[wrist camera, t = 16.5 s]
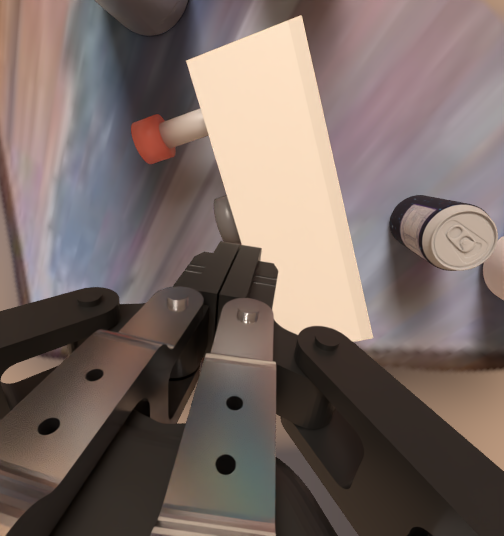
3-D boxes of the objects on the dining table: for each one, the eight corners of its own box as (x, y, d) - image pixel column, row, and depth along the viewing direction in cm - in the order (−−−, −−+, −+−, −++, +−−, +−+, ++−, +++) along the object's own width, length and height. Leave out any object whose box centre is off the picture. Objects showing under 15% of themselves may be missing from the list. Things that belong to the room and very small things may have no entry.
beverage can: (410, 254, 39) (458, 288, 27) (377, 221, 38) (410, 242, 27) (451, 219, 37) (519, 240, 26) (416, 183, 37) (471, 189, 25)
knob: (235, 241, 36) (225, 251, 32) (221, 196, 35) (209, 200, 31) (315, 219, 35) (318, 227, 30) (304, 172, 34) (305, 172, 29)
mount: (281, 307, 43) (275, 356, 31) (220, 95, 37) (186, 60, 25) (352, 291, 41) (373, 338, 29) (300, 66, 35) (301, 14, 23)
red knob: (158, 164, 35) (141, 163, 31) (145, 125, 34) (125, 119, 30) (243, 136, 33) (236, 131, 29) (231, 93, 32) (222, 83, 28)
